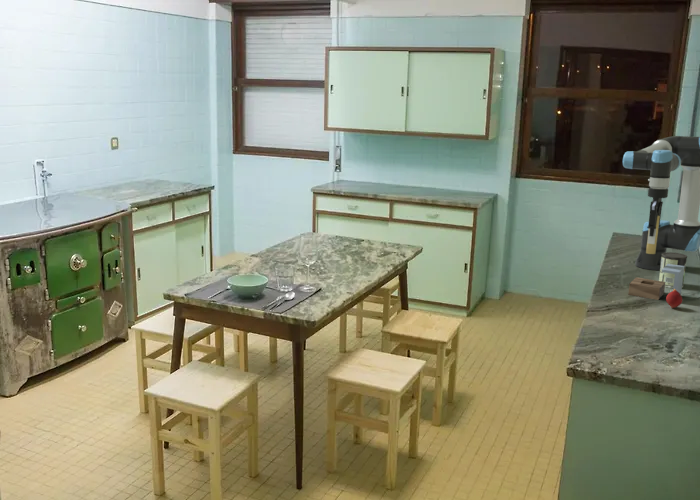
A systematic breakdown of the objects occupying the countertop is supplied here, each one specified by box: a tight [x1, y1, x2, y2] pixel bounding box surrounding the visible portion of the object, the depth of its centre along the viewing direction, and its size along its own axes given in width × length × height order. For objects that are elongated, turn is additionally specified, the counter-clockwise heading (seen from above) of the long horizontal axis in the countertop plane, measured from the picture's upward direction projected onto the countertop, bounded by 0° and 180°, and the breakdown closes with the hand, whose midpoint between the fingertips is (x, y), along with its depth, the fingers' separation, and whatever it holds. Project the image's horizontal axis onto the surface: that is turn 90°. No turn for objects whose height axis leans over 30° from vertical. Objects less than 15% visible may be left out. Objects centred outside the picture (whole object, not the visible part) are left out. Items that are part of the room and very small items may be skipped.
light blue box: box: [662, 264, 686, 295], centre depth 277 cm, size 12×7×13 cm, turn 145°
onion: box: [665, 288, 683, 309], centre depth 264 cm, size 6×6×8 cm
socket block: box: [627, 277, 666, 301], centre depth 283 cm, size 12×12×5 cm
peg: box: [646, 216, 661, 254], centre depth 277 cm, size 4×4×16 cm
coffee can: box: [658, 251, 688, 289], centre depth 295 cm, size 10×10×14 cm
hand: (652, 242), depth 278 cm, fingers closed on peg, 3 cm apart
